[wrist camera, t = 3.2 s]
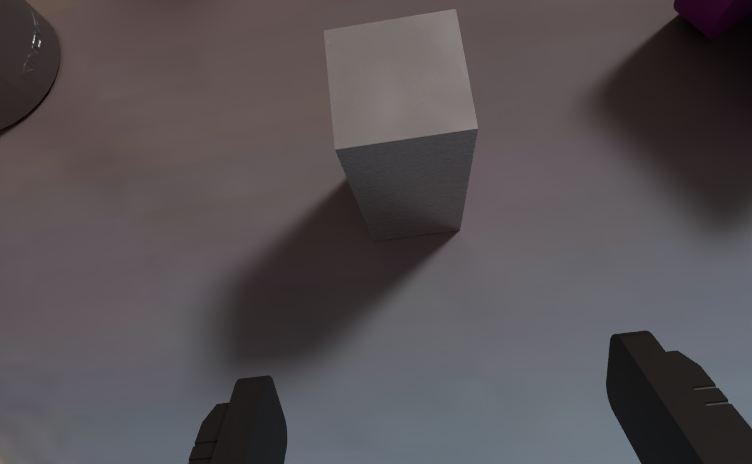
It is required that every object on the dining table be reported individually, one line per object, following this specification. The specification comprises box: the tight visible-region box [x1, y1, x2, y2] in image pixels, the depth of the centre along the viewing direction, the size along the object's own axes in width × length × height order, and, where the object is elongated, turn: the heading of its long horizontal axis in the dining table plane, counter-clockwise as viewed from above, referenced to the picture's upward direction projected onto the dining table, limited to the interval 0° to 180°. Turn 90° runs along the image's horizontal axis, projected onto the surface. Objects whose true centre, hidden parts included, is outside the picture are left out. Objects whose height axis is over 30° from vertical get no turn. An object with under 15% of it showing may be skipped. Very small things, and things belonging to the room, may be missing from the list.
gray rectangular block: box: [324, 9, 478, 242], centre depth 22 cm, size 4×4×11 cm
